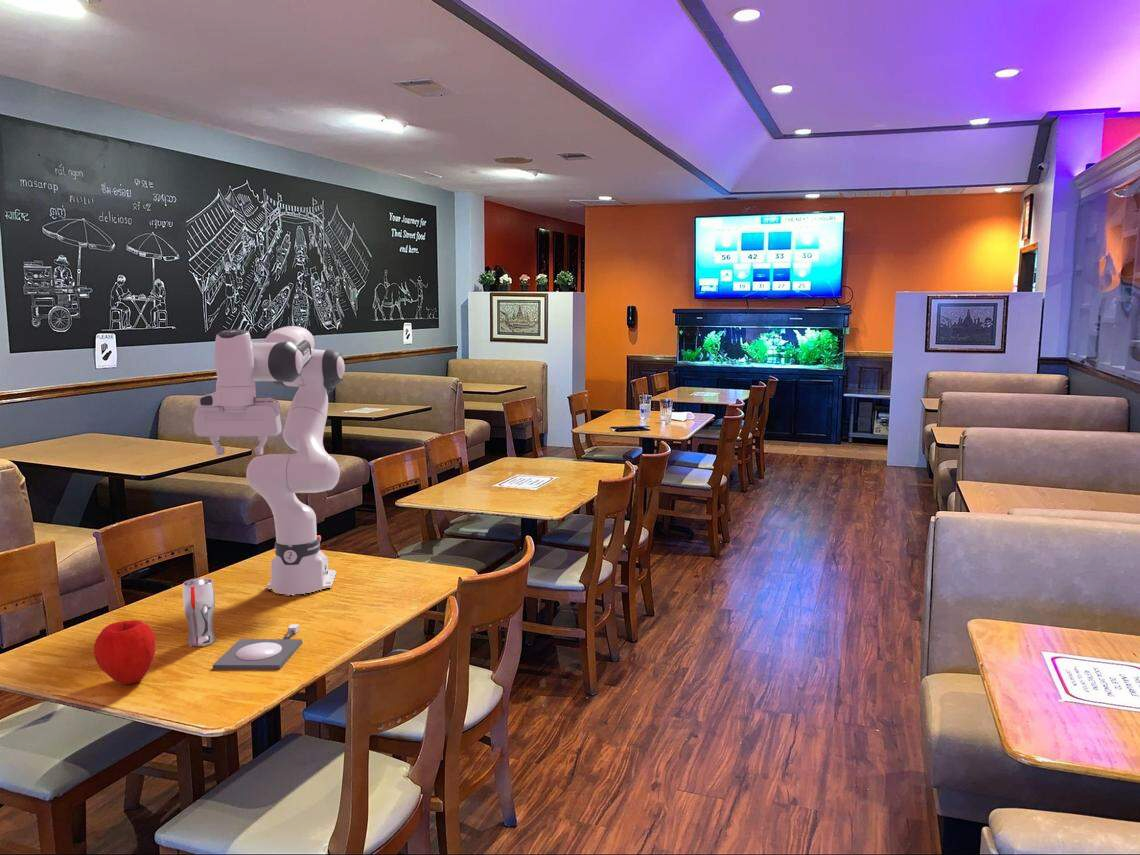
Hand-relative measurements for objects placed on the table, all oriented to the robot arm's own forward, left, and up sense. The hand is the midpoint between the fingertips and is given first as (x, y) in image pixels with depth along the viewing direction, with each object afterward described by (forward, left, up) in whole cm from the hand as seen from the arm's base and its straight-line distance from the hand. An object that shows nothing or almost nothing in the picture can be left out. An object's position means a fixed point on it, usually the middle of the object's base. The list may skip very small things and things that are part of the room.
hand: (239, 454), depth 206 cm
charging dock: (+12, +8, -44) cm, 47 cm away
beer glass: (+8, -9, -45) cm, 46 cm away
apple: (+30, -15, -45) cm, 56 cm away
